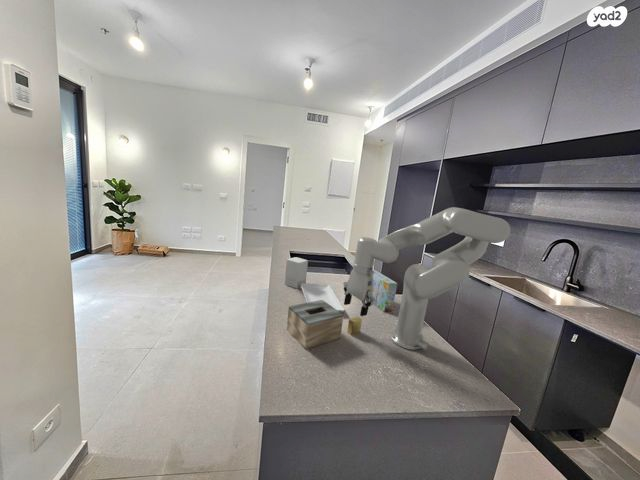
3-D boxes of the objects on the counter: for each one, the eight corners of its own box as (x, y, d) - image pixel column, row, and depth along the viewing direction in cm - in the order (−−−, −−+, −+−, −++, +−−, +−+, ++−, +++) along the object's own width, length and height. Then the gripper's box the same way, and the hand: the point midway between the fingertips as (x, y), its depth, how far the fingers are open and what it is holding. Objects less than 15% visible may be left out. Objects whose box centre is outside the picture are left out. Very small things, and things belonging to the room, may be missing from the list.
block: (359, 332, 109) (362, 319, 108) (350, 335, 106) (352, 321, 105) (356, 329, 111) (358, 316, 110) (347, 332, 108) (349, 319, 107)
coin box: (340, 338, 103) (343, 314, 101) (305, 349, 94) (308, 323, 92) (319, 321, 114) (322, 299, 112) (286, 329, 105) (288, 306, 103)
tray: (328, 289, 151) (329, 283, 151) (344, 316, 121) (345, 309, 121) (299, 288, 148) (300, 282, 147) (308, 316, 118) (309, 309, 117)
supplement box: (306, 285, 153) (308, 260, 150) (296, 289, 146) (299, 263, 143) (293, 280, 158) (296, 256, 155) (283, 284, 150) (286, 259, 148)
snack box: (393, 311, 132) (398, 283, 129) (383, 312, 130) (388, 283, 127) (370, 294, 151) (374, 268, 148) (361, 294, 149) (365, 269, 146)
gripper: (386, 276, 99) (377, 318, 102) (354, 261, 112) (347, 299, 116) (372, 278, 94) (363, 322, 98) (341, 262, 108) (334, 301, 111)
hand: (354, 309), depth 107 cm, fingers open, 9 cm apart
